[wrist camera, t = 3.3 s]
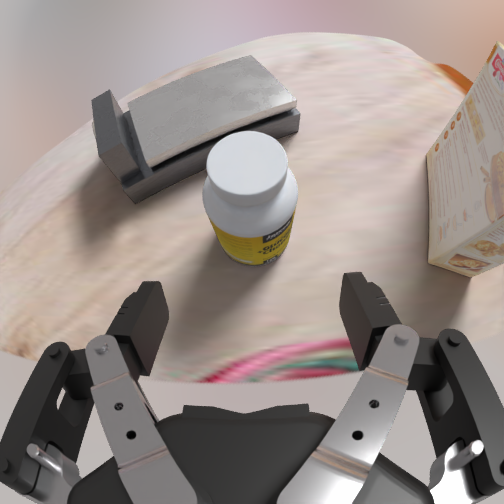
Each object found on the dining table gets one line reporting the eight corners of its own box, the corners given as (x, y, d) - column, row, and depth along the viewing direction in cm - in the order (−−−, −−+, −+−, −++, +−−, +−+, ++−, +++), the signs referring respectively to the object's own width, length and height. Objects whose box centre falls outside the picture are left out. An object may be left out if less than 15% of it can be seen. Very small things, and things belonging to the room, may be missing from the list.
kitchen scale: (130, 206, 28) (94, 166, 20) (113, 138, 31) (86, 98, 24) (298, 131, 30) (304, 78, 22) (252, 78, 33) (248, 32, 26)
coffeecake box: (472, 279, 23) (605, 209, 5) (425, 264, 24) (568, 164, 6) (466, 171, 28) (543, 76, 9) (424, 152, 28) (494, 37, 10)
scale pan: (149, 168, 25) (145, 161, 24) (130, 109, 28) (127, 103, 27) (296, 107, 27) (296, 99, 26) (251, 62, 30) (250, 55, 29)
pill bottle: (250, 283, 25) (237, 236, 14) (206, 232, 27) (169, 161, 15) (303, 237, 26) (327, 165, 15) (258, 192, 28) (252, 106, 16)
